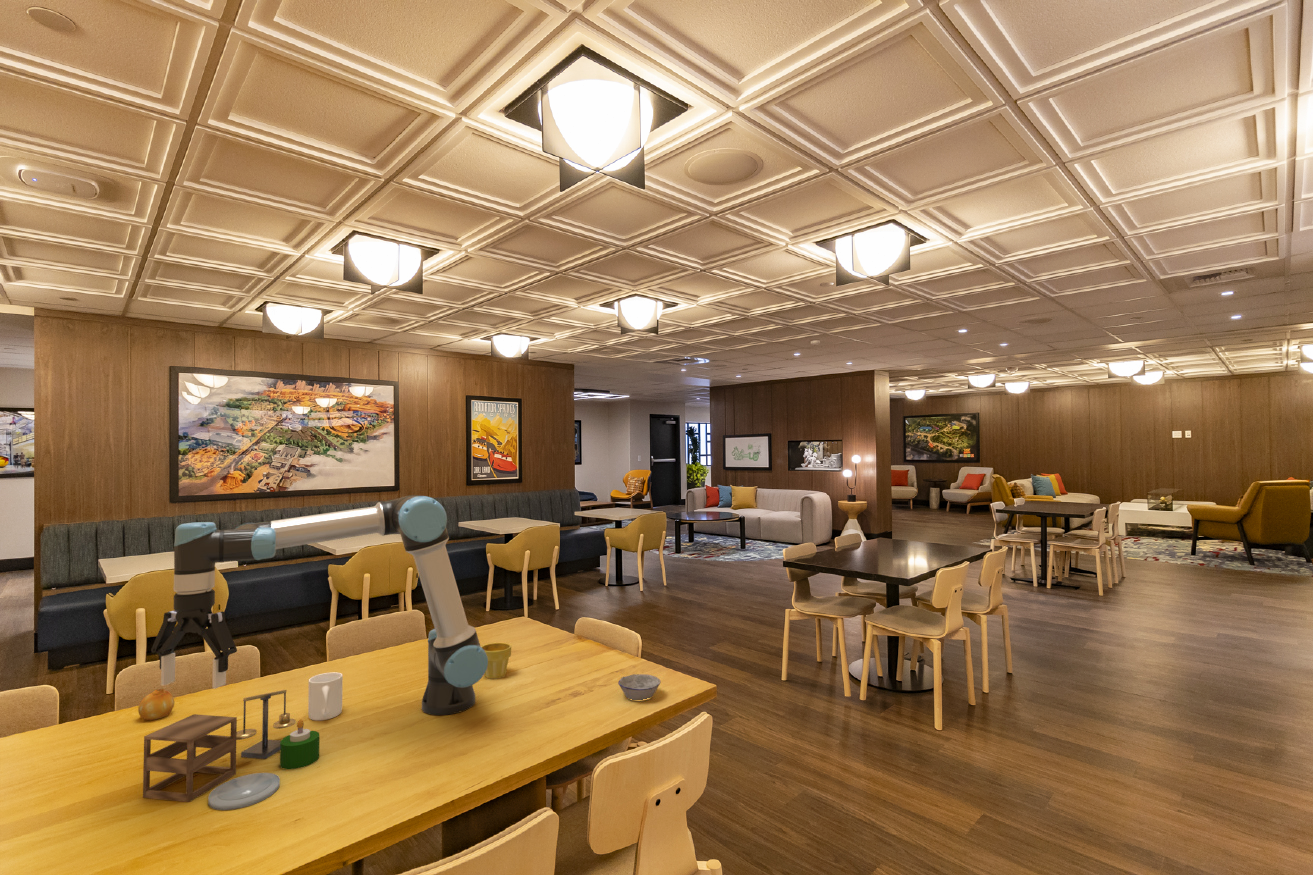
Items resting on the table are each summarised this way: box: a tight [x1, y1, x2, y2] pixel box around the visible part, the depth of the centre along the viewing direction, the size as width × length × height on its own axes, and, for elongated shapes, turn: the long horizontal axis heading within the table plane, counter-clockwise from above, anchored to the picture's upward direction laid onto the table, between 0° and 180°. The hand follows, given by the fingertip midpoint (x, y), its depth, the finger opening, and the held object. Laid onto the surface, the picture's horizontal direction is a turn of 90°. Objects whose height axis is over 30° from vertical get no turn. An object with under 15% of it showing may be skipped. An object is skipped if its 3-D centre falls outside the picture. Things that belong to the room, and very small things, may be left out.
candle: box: [279, 718, 320, 770], centre depth 149 cm, size 8×8×10 cm
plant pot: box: [480, 641, 512, 680], centre depth 207 cm, size 10×10×10 cm
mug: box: [307, 671, 343, 722], centre depth 174 cm, size 9×12×11 cm
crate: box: [142, 713, 238, 803], centre depth 138 cm, size 12×12×13 cm
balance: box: [236, 689, 297, 760], centre depth 154 cm, size 7×18×16 cm, turn 170°
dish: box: [207, 772, 281, 811], centre depth 134 cm, size 13×13×1 cm
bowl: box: [617, 673, 661, 701], centre depth 187 cm, size 13×13×5 cm
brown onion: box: [137, 688, 175, 721], centre depth 176 cm, size 8×8×8 cm
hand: (193, 685), depth 138 cm, fingers open, 13 cm apart
